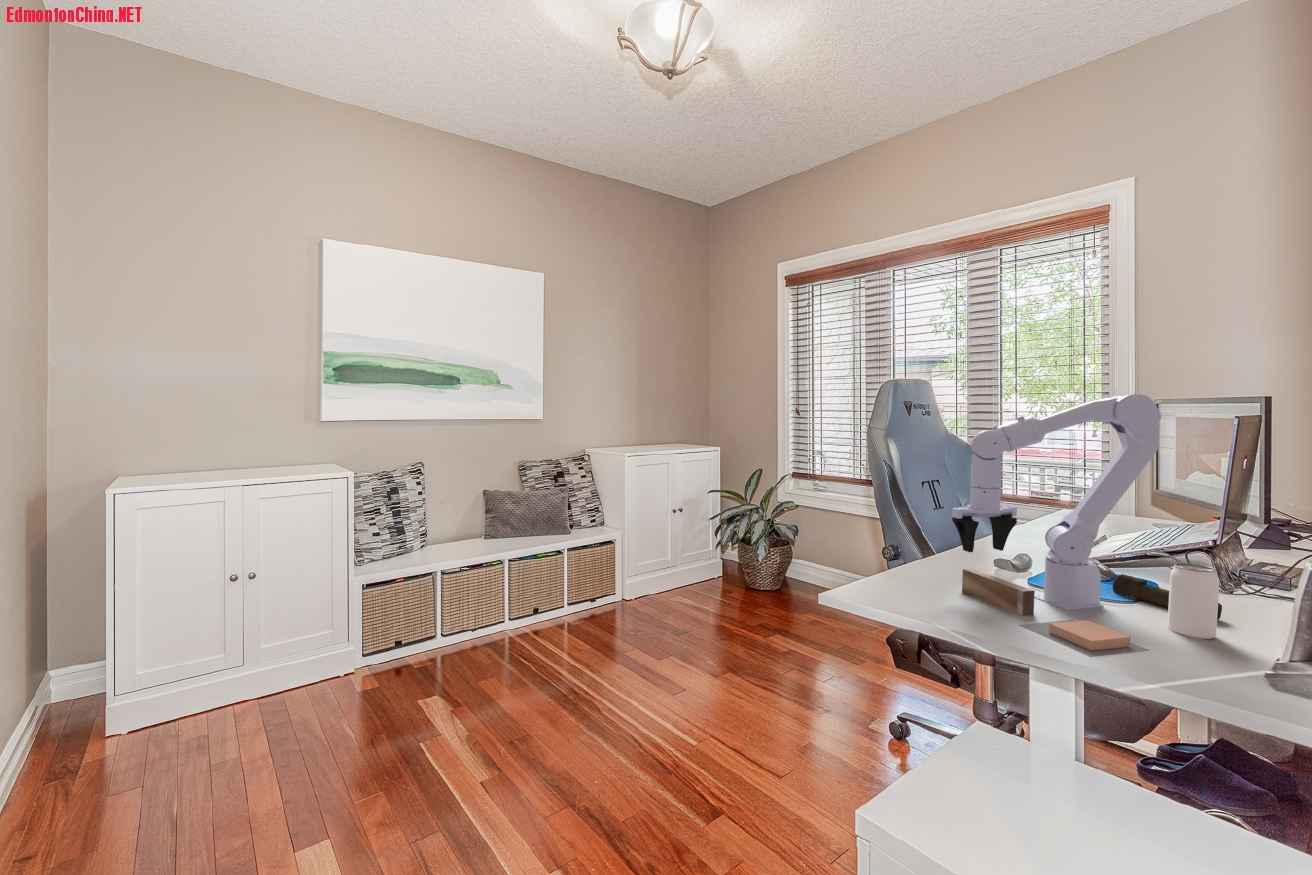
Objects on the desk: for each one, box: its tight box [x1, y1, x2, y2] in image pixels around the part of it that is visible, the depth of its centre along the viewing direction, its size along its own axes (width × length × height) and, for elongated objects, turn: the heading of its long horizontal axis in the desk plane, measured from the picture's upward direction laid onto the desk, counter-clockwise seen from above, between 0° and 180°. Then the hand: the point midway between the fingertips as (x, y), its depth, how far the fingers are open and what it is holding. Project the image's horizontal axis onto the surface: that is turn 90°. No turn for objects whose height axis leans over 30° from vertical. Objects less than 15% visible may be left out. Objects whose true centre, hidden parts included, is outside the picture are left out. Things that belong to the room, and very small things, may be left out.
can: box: [1167, 562, 1220, 641], centre depth 106 cm, size 6×6×12 cm
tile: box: [1049, 619, 1132, 651], centre depth 102 cm, size 8×2×8 cm
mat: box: [1019, 619, 1149, 657], centre depth 104 cm, size 12×14×1 cm
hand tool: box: [1112, 573, 1223, 622], centre depth 122 cm, size 19×4×5 cm, turn 15°
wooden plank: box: [961, 568, 1036, 617], centre depth 122 cm, size 3×16×5 cm, turn 13°
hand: (983, 550), depth 128 cm, fingers open, 7 cm apart
